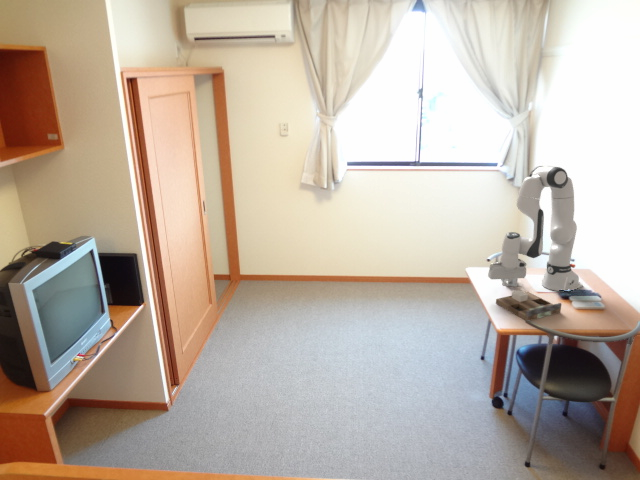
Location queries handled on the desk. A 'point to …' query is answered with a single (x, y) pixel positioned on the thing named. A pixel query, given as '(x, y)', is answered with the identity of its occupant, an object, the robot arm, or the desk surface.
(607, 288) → the desk surface
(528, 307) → the board
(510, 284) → the light bulb box
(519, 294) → the block
